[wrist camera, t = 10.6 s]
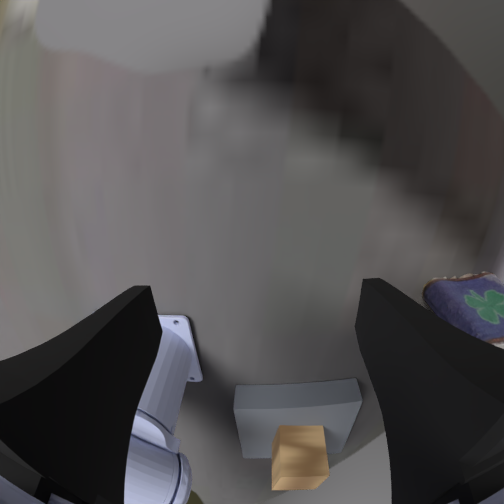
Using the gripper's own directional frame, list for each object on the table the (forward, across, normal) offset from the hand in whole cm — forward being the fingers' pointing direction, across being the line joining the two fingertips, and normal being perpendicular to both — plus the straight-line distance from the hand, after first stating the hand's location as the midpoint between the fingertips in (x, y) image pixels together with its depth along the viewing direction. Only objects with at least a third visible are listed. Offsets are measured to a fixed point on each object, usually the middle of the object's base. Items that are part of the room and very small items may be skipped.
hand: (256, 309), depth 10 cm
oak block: (+7, -3, +23) cm, 24 cm away
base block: (+10, -3, +23) cm, 25 cm away
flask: (+11, -18, +7) cm, 22 cm away
